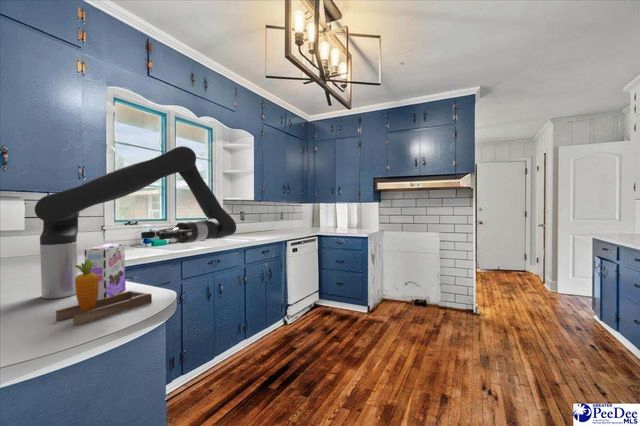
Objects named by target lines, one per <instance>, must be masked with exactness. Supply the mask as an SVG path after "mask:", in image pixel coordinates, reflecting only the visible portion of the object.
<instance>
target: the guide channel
mask: <svg viewBox="0 0 640 426" xmlns="http://www.w3.org/2000/svg"><path fill="white" fill-rule="evenodd" d="M152 297H153V295H152V293H147V292H142V291H136V290H126V291H122V292H120V293H118V294H114V295H113V296H111V297H107V298H103V299H99V300H97V301H96V305H95V307H94V309H93V310H90V311H86V312H82V310H81V308H80V306H79V304H77V305H72V306H69V307H64V308H61V309H58V310H55V318H56V319H55V321H57V322H60V321H63V320H66V319H70V318H73V326H75V327H77V326H79V325H80V326H81V325H82V324H83V325H84V324H87V323H89V322H92V321H96V320H99V319H103V318H106V317H109V316H112V315H114V314H118V313H121V312H125V311H129V310H131V309H134V308H138V307H141V306H143V305H147V304H150V303H152V301H153V300H152Z"/></svg>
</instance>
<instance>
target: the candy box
mask: <svg viewBox="0 0 640 426" xmlns="http://www.w3.org/2000/svg"><path fill="white" fill-rule="evenodd" d="M125 256H126V255H125V243H106V244H103V245H99V246H98V245H97V246H94V247H89V248H84V264H85V267H87V264H86V260H87V259H90V260H91V262H92V263H93V265H92V267H91V270H90V273H95V274H97V275H98V277H99V286H98V297H97V300H99V299H103V298H107V297H111V296H113V295H114V294H118V293H122V292H125V290H126V288H127V287H126V286H127V285H126V265H125V264H126V262H125V261H126V260H125Z"/></svg>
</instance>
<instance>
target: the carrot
mask: <svg viewBox="0 0 640 426" xmlns="http://www.w3.org/2000/svg"><path fill="white" fill-rule="evenodd" d="M86 264H87V267H85V262H82V263H81V264H80V265H79V264H77V265H75V267H77V269H78V270H80V271H81V272H82V273H81V274H78V276H77V277H76V278H75V288H76V294H75V297H76V300H77V303H78V305H79V306H80V308H81V310H82V312H86V311H90V310H93V309H94V307H95V305H96V301H97V297H98V286H99V277H98V275H97V274H95V273H90V270H91V267H92V265H93V263H92V262H91V260H90V259H87V260H86Z"/></svg>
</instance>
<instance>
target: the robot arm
mask: <svg viewBox="0 0 640 426" xmlns="http://www.w3.org/2000/svg"><path fill="white" fill-rule="evenodd" d="M196 163H197V155H196V153H195V152H194V150H193V149H191V148H190V147H188V146H186V145H177V146H175V147H174V148H172V149H170V150H168V151H166V152H164V153H162V154H160V155H158V156H155V157H154V158H150V159H147V160H144V161H140V162H139V161H138V162H136V163H132V164H129V165H126V166H124V167H120V168H118V169H116V170H112V171H110V172H107V173H105V174H103V175H101V176H98V177H96V178H94V179H92V180H89V181H87V182H85V183H83V184H80V185H78V186H75V187H72V188H69V189H65V190H61V191H58V192H55V193H52V194H51V193H50V194H47V195H45V196H42V197H41V198H40V199H38V201H37V202H36V204H35V206H34V214H35V215H36V217H37V218H38V219H40V220H41V221H43V228H42V233H41V234H40V236H39V253H40V254H39V255H40V277H41V278H40V280H41V281H40V282H41V285H40V286H41V298H42V299H45V300H46V299H49V300H51V299H52V300H53V299H60V298H66V297H70V296H75V295H76V288H75V278H76V277H77V276H78V275H79V274H78V270H79V268H77V267H75V265H78V242H77V239H78V232H79V212H81V211H84V210H85V209H87V208H90V207H92V206H96V205H99V204H103V203H107V202H110V201H111V202H112V201H114V200H117V199H120V198H123V197H126V196H129V195H131V194H134V193H136V192H138V191H140V190H143V189H144V188H146V187H148V186H150V185H153V184H154V183H155V182H157V181H158V180H160V179H162V178H163V179H164V178H165V177H168V176H171V175H175V174H177V173H178V175H180V177H181V178H182V179H183V181H184V182H185V184H187V186H188V188H189V189H190V191H191V193H192V195H193V197H194V198H195V201H196V202H197V204H198V206H199V207H200V209H201V211H202V212H203V214H204V215H205V217H206V218H207V219H210V220H205V221H204V220H203V221H199V220H191V221H180V222H178V223H177V224H176V225H175V226H174V227H168V228H159V229H150V230H149V231H142V232H141V233H140V235H141V236H140V237H141V239H142V240H143V239H144V240H146V239H159V240H161V241H162V240H173V241H174V240H176V241H177V242H179V243H180V244H187V243H193V242H199V241H200V242H201V241H203V240H210V239H211V240H212V239H213V240H215V239H222V238H226V237H228V236H232V235H234V234H235V233H236V231H237V224H236V222H235V219H234V218H233V217H231V215H230V214H229V213H228V212H227V211H226V210H224V208H223V207H222V206H221V204H220V202H219V200H218V199H217V197H216V195H215V194H214V192H213V191H212V190H211V188H210V187H209V185H208V184H207V183H206V181H205V180H204V179H203V177H202V175H201V173H200V171H199V169H198V166H197V164H196ZM211 219H214V220H216V221H212V220H211Z"/></svg>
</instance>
